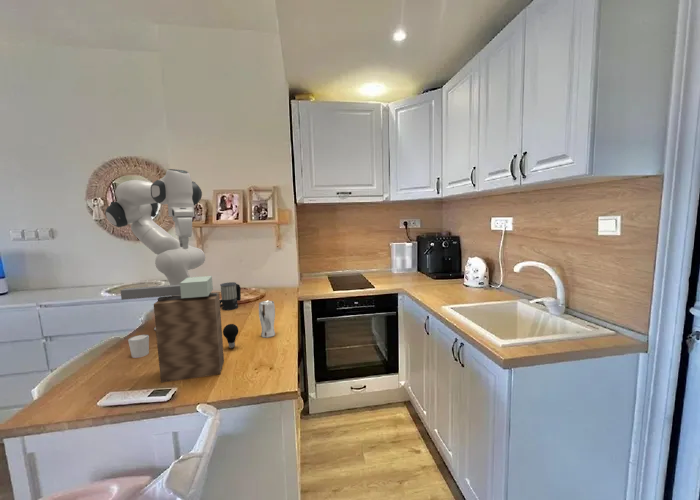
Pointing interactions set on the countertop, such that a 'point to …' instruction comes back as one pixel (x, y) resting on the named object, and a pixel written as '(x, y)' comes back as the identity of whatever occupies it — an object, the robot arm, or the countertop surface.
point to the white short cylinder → (139, 345)
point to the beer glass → (267, 318)
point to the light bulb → (230, 334)
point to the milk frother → (230, 295)
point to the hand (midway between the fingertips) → (184, 248)
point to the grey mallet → (173, 289)
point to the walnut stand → (189, 336)
